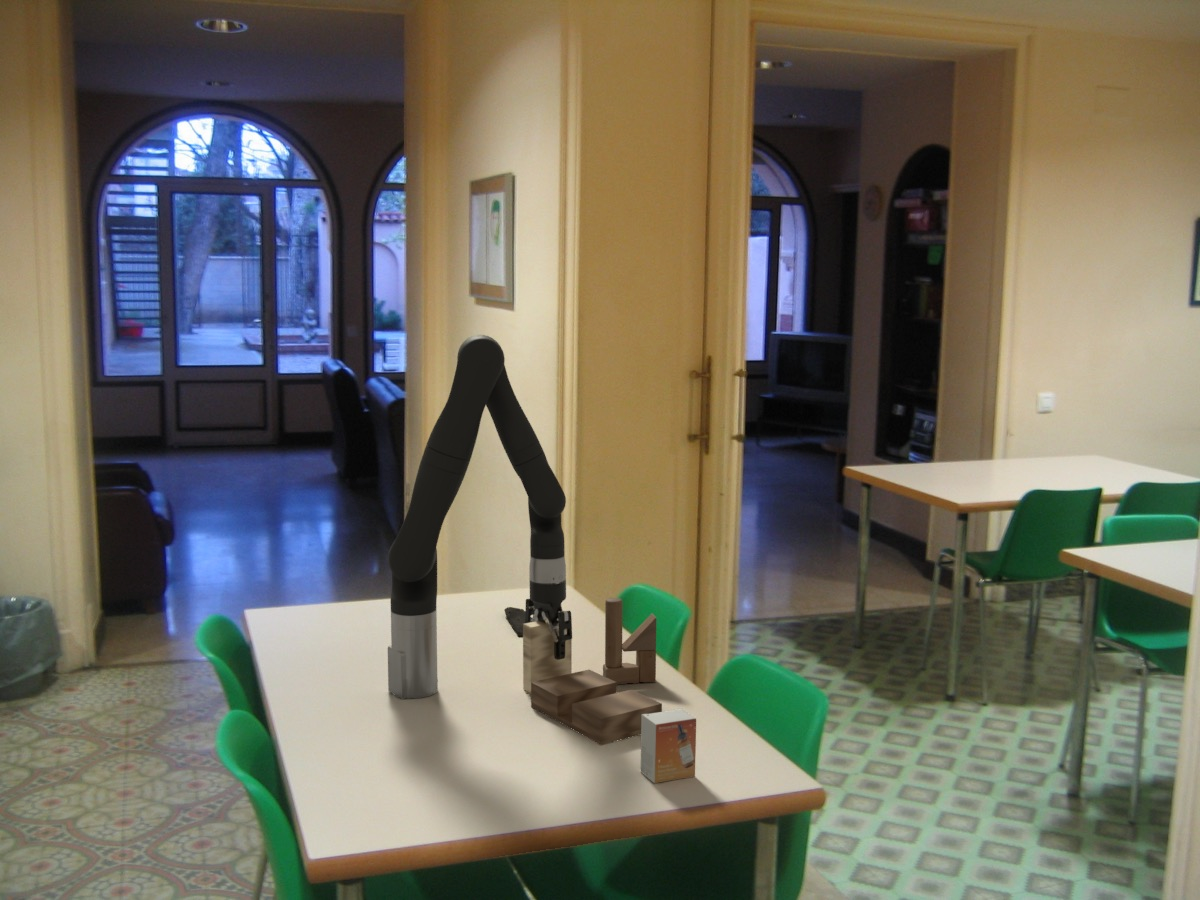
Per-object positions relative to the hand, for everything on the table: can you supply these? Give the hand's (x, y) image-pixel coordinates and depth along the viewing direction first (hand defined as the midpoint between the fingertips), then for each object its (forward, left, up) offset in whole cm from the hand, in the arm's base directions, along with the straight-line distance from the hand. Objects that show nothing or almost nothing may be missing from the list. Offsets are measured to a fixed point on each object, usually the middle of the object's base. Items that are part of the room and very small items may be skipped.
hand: (548, 653), depth 246 cm
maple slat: (0, 0, -7) cm, 7 cm away
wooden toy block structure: (+16, -7, -7) cm, 19 cm away
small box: (-7, -49, -7) cm, 50 cm away
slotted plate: (-2, -20, -7) cm, 21 cm away
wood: (+20, +42, -8) cm, 47 cm away
